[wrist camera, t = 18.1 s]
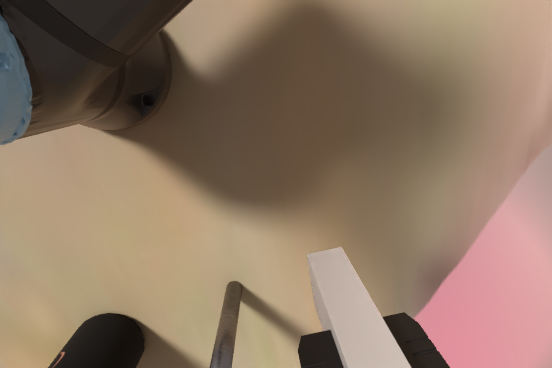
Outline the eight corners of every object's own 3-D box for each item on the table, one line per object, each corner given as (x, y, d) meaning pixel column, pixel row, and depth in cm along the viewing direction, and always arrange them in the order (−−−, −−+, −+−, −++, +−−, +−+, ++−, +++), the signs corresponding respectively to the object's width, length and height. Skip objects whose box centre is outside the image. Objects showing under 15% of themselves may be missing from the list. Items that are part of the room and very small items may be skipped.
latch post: (228, 295, 48) (203, 423, 30) (225, 282, 48) (197, 406, 30) (243, 293, 48) (227, 420, 30) (240, 280, 48) (222, 403, 30)
